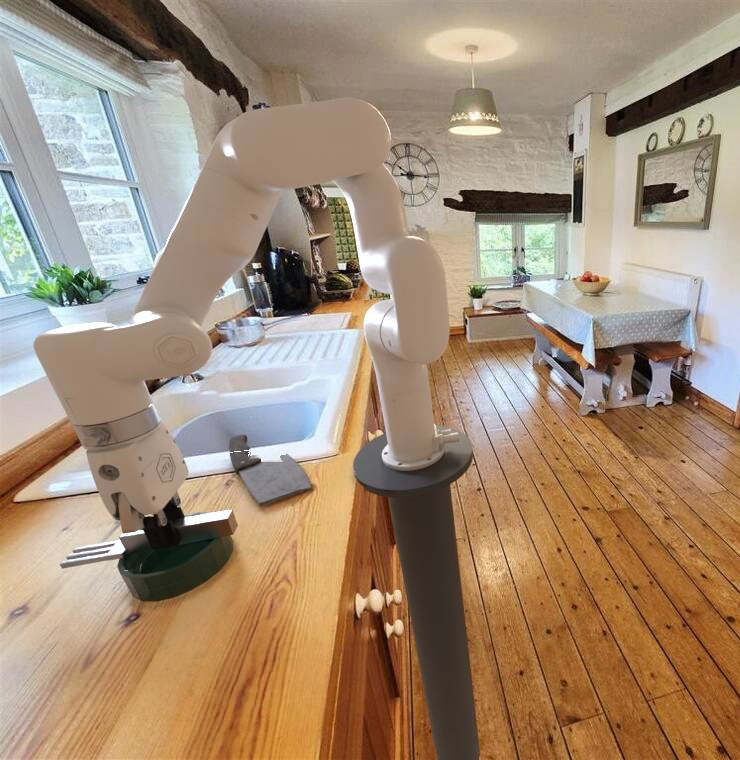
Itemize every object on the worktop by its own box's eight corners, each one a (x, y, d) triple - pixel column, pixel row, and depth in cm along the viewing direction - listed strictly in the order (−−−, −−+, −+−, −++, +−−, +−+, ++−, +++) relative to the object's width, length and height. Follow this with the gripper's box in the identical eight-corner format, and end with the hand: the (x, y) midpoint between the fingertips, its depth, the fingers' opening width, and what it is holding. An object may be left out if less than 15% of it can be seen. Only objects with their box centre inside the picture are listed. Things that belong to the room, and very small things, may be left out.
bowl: (245, 529, 67) (236, 505, 65) (217, 592, 56) (205, 564, 54) (159, 546, 64) (147, 521, 62) (112, 615, 53) (95, 587, 51)
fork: (239, 522, 61) (233, 506, 60) (232, 537, 58) (226, 521, 57) (78, 551, 56) (68, 534, 55) (61, 569, 54) (51, 552, 52)
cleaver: (219, 449, 90) (216, 441, 89) (267, 432, 96) (265, 424, 95) (261, 513, 71) (257, 503, 70) (317, 486, 77) (315, 477, 76)
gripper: (117, 453, 44) (176, 577, 51) (183, 394, 58) (222, 498, 66) (32, 465, 43) (105, 592, 50) (121, 402, 57) (168, 508, 64)
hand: (171, 538), depth 58 cm, fingers closed on fork, 2 cm apart
